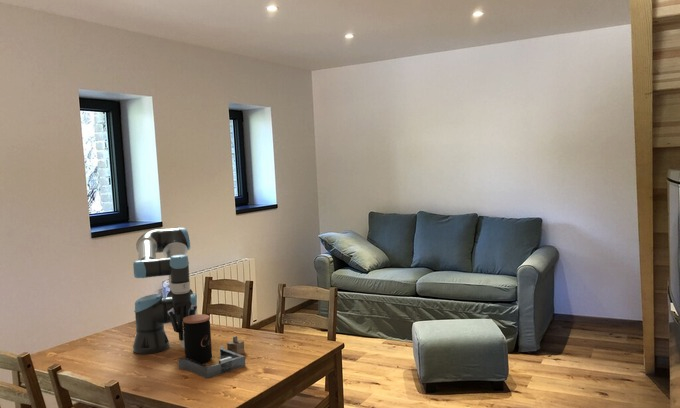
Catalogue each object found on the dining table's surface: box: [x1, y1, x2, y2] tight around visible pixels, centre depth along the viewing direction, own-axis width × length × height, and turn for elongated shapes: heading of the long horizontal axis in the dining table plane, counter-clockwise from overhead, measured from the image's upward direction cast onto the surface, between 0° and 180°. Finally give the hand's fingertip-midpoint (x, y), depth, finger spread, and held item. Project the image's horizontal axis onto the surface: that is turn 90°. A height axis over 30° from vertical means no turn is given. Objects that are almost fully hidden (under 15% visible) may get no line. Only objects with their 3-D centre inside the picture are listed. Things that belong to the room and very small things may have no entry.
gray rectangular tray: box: [177, 345, 246, 380], centre depth 223 cm, size 19×21×5 cm
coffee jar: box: [183, 313, 213, 365], centre depth 231 cm, size 11×11×18 cm
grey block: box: [226, 335, 245, 355], centre depth 238 cm, size 5×5×7 cm
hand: (184, 347), depth 239 cm, fingers closed
